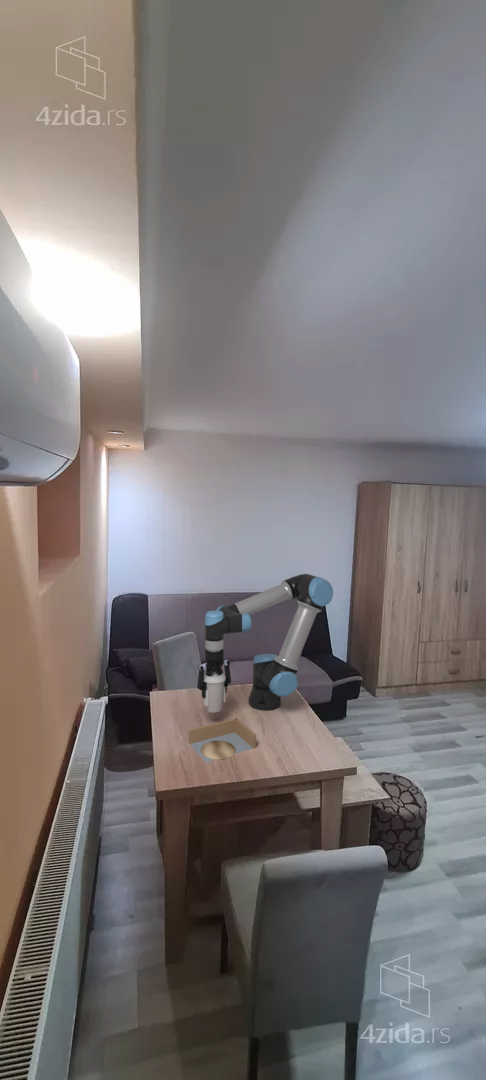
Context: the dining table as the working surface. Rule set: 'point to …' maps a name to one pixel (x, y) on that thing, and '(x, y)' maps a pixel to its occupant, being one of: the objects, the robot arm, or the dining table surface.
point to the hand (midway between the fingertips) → (214, 702)
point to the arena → (223, 736)
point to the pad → (218, 750)
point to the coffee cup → (215, 691)
